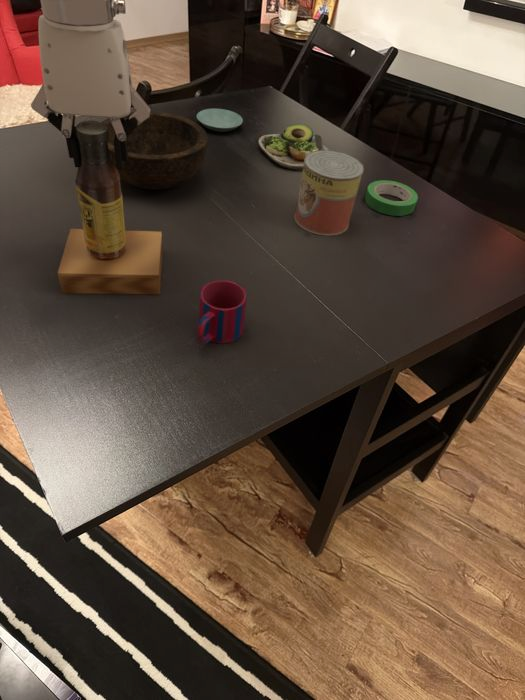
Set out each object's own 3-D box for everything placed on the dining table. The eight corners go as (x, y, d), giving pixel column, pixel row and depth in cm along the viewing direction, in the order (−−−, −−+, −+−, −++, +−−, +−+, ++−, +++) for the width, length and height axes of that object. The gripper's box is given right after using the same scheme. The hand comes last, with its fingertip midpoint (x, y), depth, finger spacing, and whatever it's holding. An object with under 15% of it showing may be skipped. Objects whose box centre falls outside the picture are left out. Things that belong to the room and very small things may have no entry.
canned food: (283, 211, 99) (292, 154, 90) (327, 201, 103) (340, 146, 95) (314, 240, 93) (327, 182, 84) (359, 229, 97) (376, 173, 89)
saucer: (250, 127, 126) (251, 118, 124) (225, 140, 119) (225, 131, 117) (214, 113, 130) (214, 104, 128) (187, 126, 122) (187, 116, 121)
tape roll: (355, 192, 107) (358, 181, 106) (396, 188, 111) (399, 177, 109) (381, 219, 101) (385, 208, 99) (423, 213, 104) (428, 202, 102)
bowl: (185, 152, 112) (185, 108, 105) (222, 199, 99) (224, 152, 92) (90, 163, 104) (83, 115, 97) (117, 215, 91) (111, 164, 84)
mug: (251, 325, 74) (255, 292, 70) (213, 364, 68) (215, 330, 63) (216, 307, 76) (218, 273, 72) (176, 343, 70) (175, 308, 65)
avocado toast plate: (350, 171, 114) (355, 152, 111) (283, 179, 108) (286, 159, 105) (312, 137, 126) (315, 118, 123) (250, 142, 120) (251, 123, 116)
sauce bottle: (83, 241, 78) (61, 115, 63) (122, 236, 80) (109, 113, 66) (90, 265, 74) (68, 136, 60) (131, 259, 76) (119, 134, 62)
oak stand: (62, 293, 75) (57, 273, 72) (74, 248, 83) (70, 228, 80) (160, 294, 77) (158, 275, 74) (162, 250, 85) (161, 231, 82)
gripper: (156, 6, 57) (163, 155, 70) (4, -9, 55) (41, 148, 68) (153, 23, 52) (161, 180, 65) (-14, 7, 50) (29, 174, 63)
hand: (100, 162), depth 66 cm, fingers open, 4 cm apart
